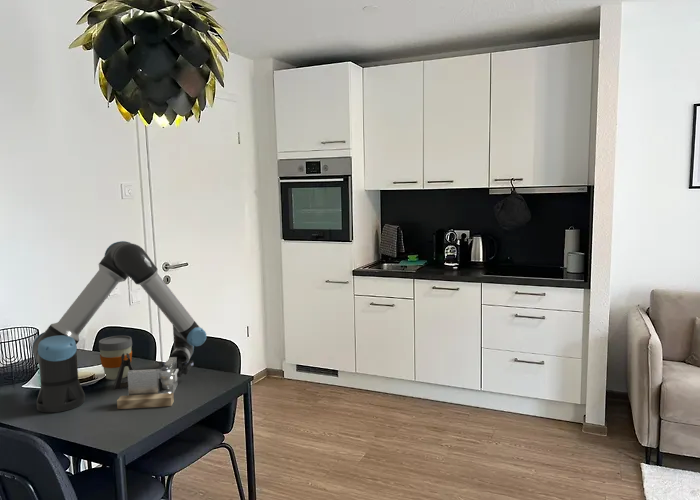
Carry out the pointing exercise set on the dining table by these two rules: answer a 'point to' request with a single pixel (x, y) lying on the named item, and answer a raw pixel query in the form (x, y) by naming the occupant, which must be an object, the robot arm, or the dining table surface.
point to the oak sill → (145, 401)
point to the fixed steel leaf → (147, 381)
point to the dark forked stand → (120, 373)
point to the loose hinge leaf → (170, 383)
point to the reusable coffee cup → (114, 354)
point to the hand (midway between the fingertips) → (168, 378)
